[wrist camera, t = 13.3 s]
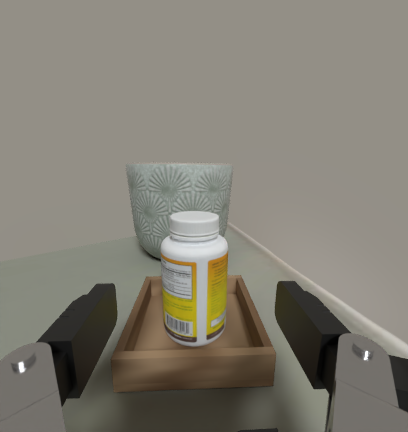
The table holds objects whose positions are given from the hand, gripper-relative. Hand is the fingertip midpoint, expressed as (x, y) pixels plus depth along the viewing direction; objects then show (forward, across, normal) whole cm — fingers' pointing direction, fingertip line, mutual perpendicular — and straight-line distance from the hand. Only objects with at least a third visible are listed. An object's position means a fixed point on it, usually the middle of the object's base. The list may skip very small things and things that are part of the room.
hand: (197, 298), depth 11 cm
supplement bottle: (+7, 0, +8) cm, 11 cm away
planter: (+27, +2, +8) cm, 28 cm away
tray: (+8, 0, +8) cm, 11 cm away
